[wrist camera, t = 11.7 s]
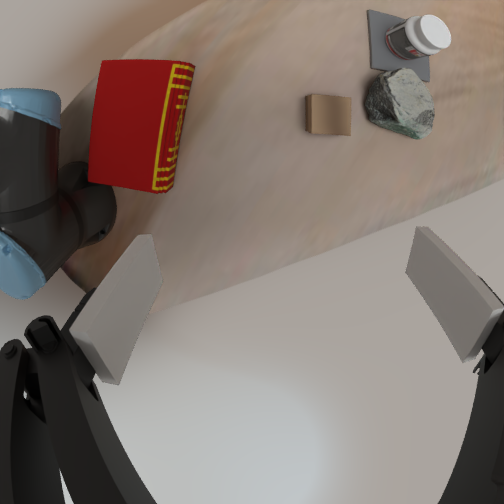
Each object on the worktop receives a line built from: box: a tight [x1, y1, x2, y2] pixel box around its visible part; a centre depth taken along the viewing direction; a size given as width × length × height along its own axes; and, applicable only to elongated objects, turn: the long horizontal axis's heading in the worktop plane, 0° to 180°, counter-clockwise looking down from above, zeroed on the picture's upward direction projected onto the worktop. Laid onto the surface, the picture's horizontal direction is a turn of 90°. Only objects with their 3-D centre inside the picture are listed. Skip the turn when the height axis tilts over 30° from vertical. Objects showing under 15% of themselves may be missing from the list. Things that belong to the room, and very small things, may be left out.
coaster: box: [367, 10, 430, 82], centre depth 26 cm, size 10×10×1 cm
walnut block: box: [306, 94, 351, 136], centre depth 32 cm, size 5×5×5 cm
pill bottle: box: [386, 15, 451, 60], centre depth 22 cm, size 6×6×10 cm
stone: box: [365, 68, 434, 139], centre depth 29 cm, size 10×10×10 cm
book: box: [88, 59, 195, 194], centre depth 33 cm, size 18×13×5 cm
